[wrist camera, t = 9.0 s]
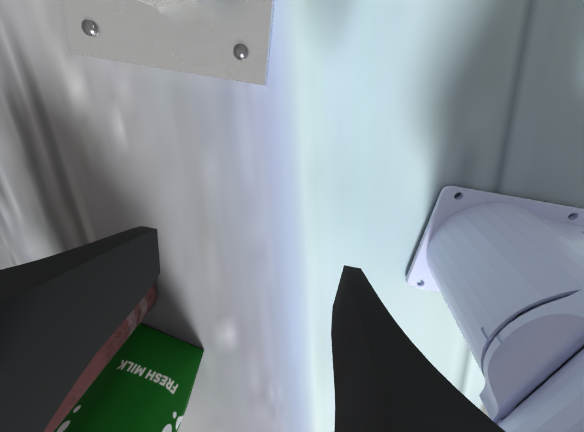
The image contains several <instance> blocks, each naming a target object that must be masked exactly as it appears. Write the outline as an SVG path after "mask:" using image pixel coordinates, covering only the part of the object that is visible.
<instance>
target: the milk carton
mask: <svg viewBox="0 0 584 432" xmlns="http://www.w3.org/2000/svg"><path fill="white" fill-rule="evenodd" d="M203 352H204V350H202V349H200V348H197V347H195V346H193V345H190V344H188V343H186V342H183V341H181V340H179V339H176V338H174V337H171V336H169V335H167V334H164V333H162V332H160V331H157V330H155V329H153V328H150V327H148V326H145V325H143V324H141V323H139V325H138V326H137V327H136V328H135V330H134V331H133V332H132V334H131V335H130V336H129V337H128V339H127V340H126V341H125V342H124V344H123V345H122V346H121V347H120V349H119V350H118V351H117V352H116V354H115V355H114V356H113V357H112V359H111V360H110V361H109V363H108V364H107V365H106V366H105V368H104V369H103V370H102V371H101V373H100V374H99V375H98V376H97V378H96V379H95V380H94V381H93V383H92V384H91V385H90V387H89V388H88V389H87V390H86V392H85V393H84V394H83V395H82V397H81V398H80V399H79V400H78V402H77V403H76V404H75V405H74V407H73V408H72V409H71V410H70V412H69V413H68V414H67V416H66V417H65V418H64V419H63V421H62V422H61V423H60V424H59V426H58V427H57V428H56V429H55V431H54V432H177V431H178V428H179V426H180V423H181V421H182V418H183V416H184V413H185V410H186V408H187V404H188V401H189V398H190V395H191V391H192V388H193V384H194V381H195V378H196V374H197V371H198V368H199V365H200V362H201V359H202V355H203Z"/></svg>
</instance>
